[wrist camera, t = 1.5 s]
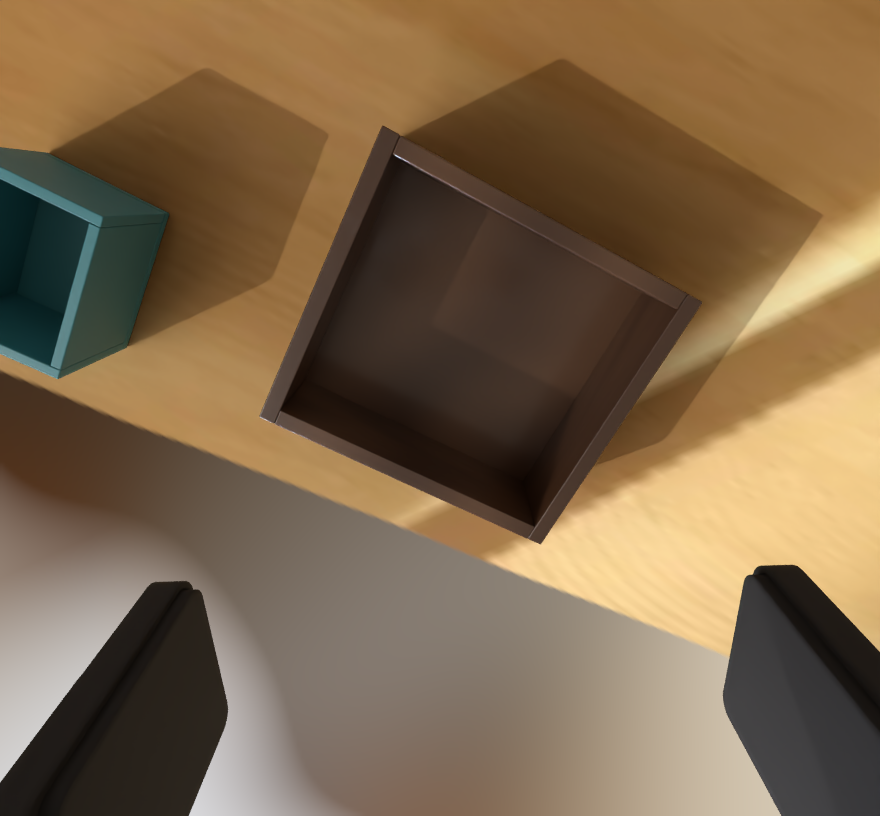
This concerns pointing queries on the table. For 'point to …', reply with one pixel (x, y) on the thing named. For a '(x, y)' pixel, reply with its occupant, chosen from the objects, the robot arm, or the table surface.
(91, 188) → the box
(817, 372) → the table surface
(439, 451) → the crate
